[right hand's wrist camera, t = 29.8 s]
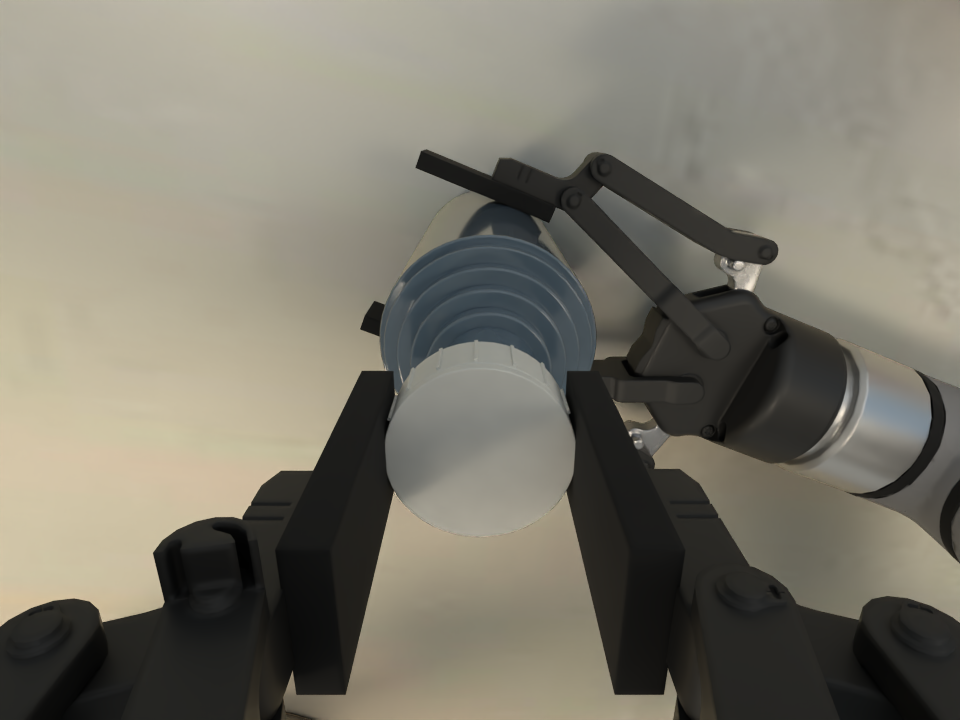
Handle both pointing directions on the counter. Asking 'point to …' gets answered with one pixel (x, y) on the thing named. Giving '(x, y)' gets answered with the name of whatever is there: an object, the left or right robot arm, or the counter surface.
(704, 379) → the left robot arm
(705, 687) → the right robot arm
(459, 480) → the cap
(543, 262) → the bottle
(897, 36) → the counter surface
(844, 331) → the counter surface
